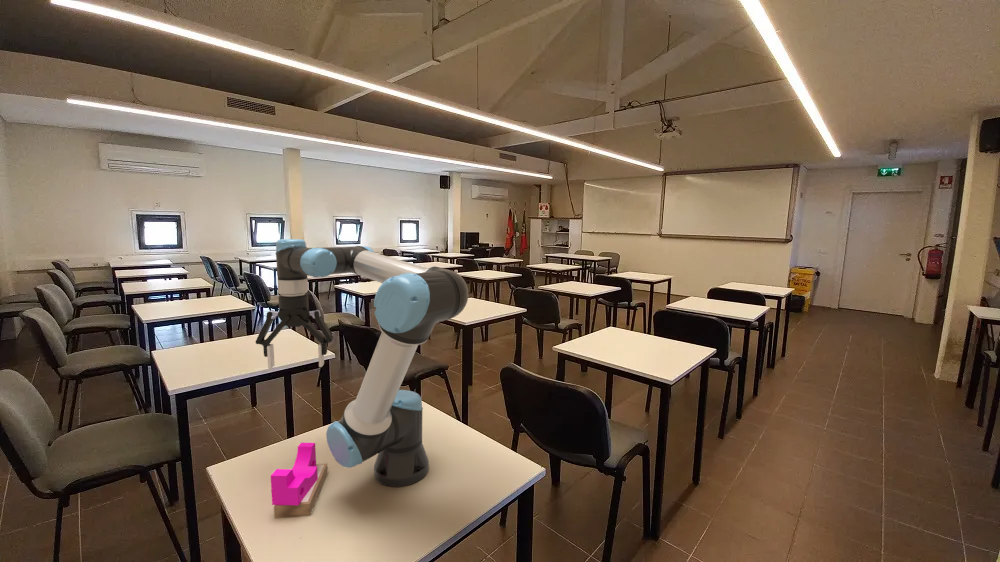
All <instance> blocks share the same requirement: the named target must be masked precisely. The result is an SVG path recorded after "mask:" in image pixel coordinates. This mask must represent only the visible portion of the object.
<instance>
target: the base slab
mask: <svg viewBox="0 0 1000 562" xmlns="http://www.w3.org/2000/svg"><path fill="white" fill-rule="evenodd" d="M316 466H317V472H318V479H317V481H316V482H315V483H314V485H313V486H312V488H311V489H310V490H309V492H308V493H307V494H306V496H305V497H304V498H303V500H302V501H301V503H300V504H299V505H273V510H274V511H273V513H274V514H273V515H274V519H281V518H283V519H285V518H293V517H302V516H303V517H304V516H311V514H312V512H313V510H314V507H315V504H316V502H317V500H318V499H319V495H320V493H321V490H322V488H323V486H324V483H325V481H326V478H327V476H328V468H329V467H328V463H319V464H318V463H316Z"/></svg>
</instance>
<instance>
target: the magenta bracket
mask: <svg viewBox="0 0 1000 562" xmlns="http://www.w3.org/2000/svg"><path fill="white" fill-rule="evenodd" d="M316 464H317V455H316V442H300V443H299V444H298V446H297V453H296V457H295V461H294V464H293V466H292V468H291V469H290V468H289V469H288V468H287V469H285V468H276V469H275V470H274V471H273V472H272V473H271V474H270V488H271V489H270V491H271V505H272V506H275V505H299V504H300V503H301V501H302V500H303V498H304V497H305V496H306V494H307V493H308V492H309V490H310V489H311V488H312V486H313V485H314V483H315V482H316V481H317V479H318V472H317V466H316Z"/></svg>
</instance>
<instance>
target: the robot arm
mask: <svg viewBox="0 0 1000 562" xmlns="http://www.w3.org/2000/svg"><path fill="white" fill-rule="evenodd" d="M275 247H276V249H275V260H276V273H277V293H278V294H279V295H278V311H275V310H273V309H271V310H269V311H267V312H266V318H265V321H264V323H263V324H262V325H263V326H262V327H261V330H260V331H259V333H258V336H257V338H256V340H255V344H256V345H260V346H262V347H263V356H264V357H265V358H267V369H268V370H271V369H272V368H274V367H275V350H274V349H275V348H274V347H275V346H274V343H272V341H273V340H274V339H275V338H276V337H277V335H279V334H280V332H281V331H282V329H284V328H285V326H286V327H288V328H292V327H296V328H299V327H303V328H304V329H306V330H307V331H308V332H309V333H310V334H311V335H312V337H314V338H315V339H316V341H318V342H319V344H318V346H317V349H318V368H322V367H323V366H324V364H325V356H326V355H327V353H328V344H329V343H331V342H333V340H334V338H335V337H334V336H333V334H332V331H331V330H330V329H329V327H328V325H327V324H326V322H325V320H324V319H323V316H322V311H321V310H320V309H316V310H312V311H311V310H310V308H309V306H310V305H309V294H308V291H309V289H308V288H309V287H308V277H313V278H326V277H329V276H330V275H341V274H355V275H357V276H361V277H362V278H367V279H369V280H371V281H374V282H376V283H380V284H381V285H380V286H379V287H378V289H377V291H376V293H375V296H374V302H373V307H374V308H375V310H374V316H375V318H376V321H377V324H378V327H379V330H380V331H381V333H380V336H379V339H378V341H377V343H376V346H375V349H374V351H373V354H372V357H371V359H370V362H369V365H368V367H367V370H366V373H365V374H364V377H363V380H362V382H361V385H360V388H359V390H358V392H357V396H356V399H353V400H352V401H350V402H349V403H348V404H347V406H346V407H345V409H344V411H343V414H342V417H341V418H340V419H338V420H334V421H333V422H332V423H331V424H329V425H328V427H327V428H326V433H325V434H326V435H325V436H326V442H327V445H328V448H329V451H330V453H331V455H332V457H333V458H334V460H335V461H336V462H337V463H338V464H339V465H340V466H342V467H343V468H347V469H351V468H354V467H356V466H358V465H361V464H363V463H364V462H366V461H367V460H369V459H371V458H373V457H375V456H376V455H377V457H376V460H375V462H374V469H373V471H374V473H373V474H374V478H375V480H376V481H377V482H378V483H380V484H381V485H383V486H387V487H395V488H396V487H398V488H399V487H406V486H410V485H413V484H416V483H418V482H419V481H421V480H422V479H424V478H425V477H426V475H427V474H428V472H429V469H430V467H429V466H430V465H429V458H428V455H427V451H426V449H425V446H424V444H423V410H424V408H423V399H422V396H421V395H420V394H419V393H417V392H415V391H412V390H407V389H400V387H401V385H402V383H403V381H404V378H405V376H406V374H407V372H408V370H409V367H410V365H411V363H412V360H413V358H414V355H415V353H416V351H417V349H418V346H420V345H422V344H425V343H426V342H427V341H428V340H429V338H430V336H431V334H432V332H433V329H434V328H435V325H436V324H438V323H440V322H444V321H448V320H451V319H454V318H456V317H457V316H458V315H460V314H461V313H462V312H463V310H464V309H465V308H466V306H467V304H468V300H469V288H468V285H467V282H466V280H465V279H464V278H463V277H462V276H461V274H459V273H457V272H456V271H453V270H451V269H447V268H443V267H439V266H435V265H434V266H430V267H425V266H421V265H417V264H413V263H412V262H408V261H405V260H400V259H398V258H395V257H390V256H388V255H383V254H380V253H377V252H374V251H373V249H372V248H371V247H369V246H362V245H355V246H336V247H335V246H331V247H326V246H325V247H307V243H306V241H305V239H302V238H301V239H300V238H287V239H286V238H282V239H278V240H277V241H276V242H275ZM310 316H311V317H312V319H314V320H315V322H316V324H317V326H318V327H319V329H320V330H318V328H317V327H316V326H315V325H314V324H312V322H311V320H310V319H309V318H310ZM277 317H278V318H279V319H280V322H279V323H278V324H277V326H276V327H275V328H274V329H273V331H272V332H271V333H270V334H269V335H268V336H267V334H268V333H269V331H270V328H271V326H272V324H273V322H274V320H275V319H276V318H277ZM321 332H322V333H321ZM266 336H267V338H266Z"/></svg>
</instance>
